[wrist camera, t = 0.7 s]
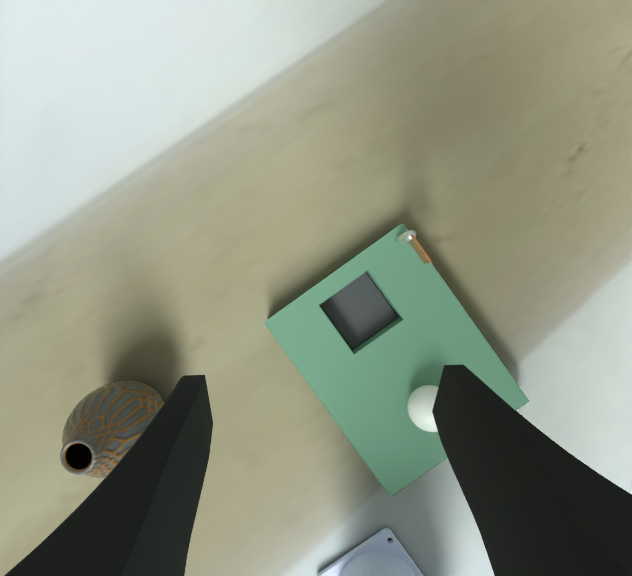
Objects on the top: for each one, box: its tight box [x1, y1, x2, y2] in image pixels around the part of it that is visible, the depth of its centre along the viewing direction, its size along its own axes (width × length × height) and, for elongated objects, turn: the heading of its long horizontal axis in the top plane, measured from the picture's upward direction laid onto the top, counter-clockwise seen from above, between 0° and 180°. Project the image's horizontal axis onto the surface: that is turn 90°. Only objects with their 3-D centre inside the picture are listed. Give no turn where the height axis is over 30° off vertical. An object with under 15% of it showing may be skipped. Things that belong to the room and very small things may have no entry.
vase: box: [60, 381, 165, 478], centre depth 30 cm, size 7×7×9 cm
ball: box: [407, 385, 438, 432], centre depth 30 cm, size 4×4×4 cm
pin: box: [396, 230, 432, 264], centre depth 30 cm, size 3×1×6 cm, turn 36°
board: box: [264, 223, 529, 497], centre depth 33 cm, size 18×14×2 cm
